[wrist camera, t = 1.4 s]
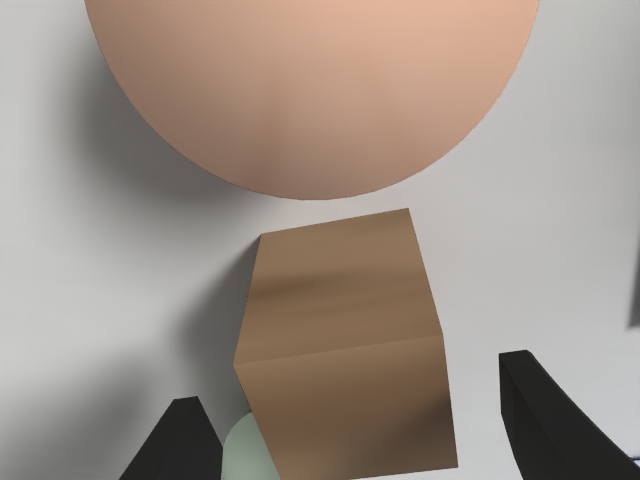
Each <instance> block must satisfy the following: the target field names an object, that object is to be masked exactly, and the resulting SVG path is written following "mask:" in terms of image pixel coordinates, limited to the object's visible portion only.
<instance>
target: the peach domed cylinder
mask: <svg viewBox="0 0 640 480" xmlns="http://www.w3.org/2000/svg"><path fill="white" fill-rule="evenodd" d="M84 1H85V5H86V9H87V13H88V17H89V20H90V23H91V25H92V28H93V31H94V34H95V37H96V39H97V42H98V45H99V47H100V49H101V52H102V54H103V56H104V58H105V60H106V62H107V64H108V66H109V68H110V70H111V72H112V74H113V76H114V77H115V79H116V80H117V82H118V84H119V85H120V87H121V88H122V90H123V92H124V93H125V95H126V96H127V98H128V99H129V101H130V102H131V103H132V105H133V106H134V107H135V108H136V110H137V111H138V112H139V113H140V115H141V116H142V117H143V118H144V120H145V121H146V122H147V123H148V124H149V125H150V126H151V127H152V128H153V129H154V130H155V131H156V132H157V133H158V134H159V135H160V136H161V137H162V138H163V139H164V140H165V141H166V142H167V143H168V144H169V145H171V146H172V147H173V148H174V149H176V150H177V151H178V152H179V153H181V154H182V155H183V156H184V157H186V158H187V159H188V160H190V161H192V162H193V163H195V164H196V165H198V166H199V167H201V168H202V169H204V170H206V171H207V172H209V173H211V174H213V175H215V176H217V177H219V178H221V179H223V180H225V181H227V182H229V183H231V184H234V185H237V186H240V187H243V188H245V189H248V190H251V191H254V192H258V193H262V194H266V195H270V196H275V197H280V198H289V199H298V200H331V199H339V198H347V197H353V196H357V195H361V194H366V193H370V192H374V191H377V190H380V189H382V188H385V187H388V186H390V185H393V184H396V183H398V182H400V181H402V180H404V179H406V178H408V177H410V176H412V175H414V174H416V173H418V172H420V171H422V170H423V169H425V168H426V167H428V166H429V165H431V164H432V163H434V162H435V161H437V160H438V159H440V158H441V157H443V156H444V155H445V154H446V153H448V152H449V151H450V150H451V149H452V148H453V147H455V146H456V145H457V144H458V143H459V142H461V141H462V140H463V139H464V138H465V137H466V136H467V135H468V134H469V133H470V132H471V131H472V130H473V128H474V127H475V126H476V125H477V124H478V123H479V122H480V121H481V120H482V119H483V118H484V116H485V115H486V114H487V112H488V111H489V110H490V108H491V107H492V106H493V104H494V103H495V102H496V100H497V99H498V98H499V96H500V95H501V93H502V91H503V90H504V88H505V86H506V84H507V83H508V81H509V79H510V78H511V76H512V74H513V73H514V71H515V69H516V67H517V64H518V62H519V60H520V58H521V55H522V53H523V51H524V49H525V47H526V44H527V42H528V39H529V36H530V33H531V30H532V27H533V23H534V20H535V17H536V14H537V11H538V6H539V1H540V0H84Z"/></svg>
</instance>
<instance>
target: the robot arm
mask: <svg viewBox="0 0 640 480" xmlns="http://www.w3.org/2000/svg"><path fill="white" fill-rule="evenodd" d="M499 373H500V399H501V415H502V418H503V421H504V425H505V428H506V432H507V435H508V439H509V442H510V445H511V448H512V452H513V455H514V458H515V460H516V463H517V465H518V468H519V470H520V473H521V475H522V478H523V480H640V460H636V461H633V460H632V459H631V458H630V457H628V456H627V455H626V454H625V453H624V452H623V451H622V450H621V449H620V448H619V447H618V446H617V445H616V444H614V443H613V442H612V441H611V440H610V439H609V438H608V437H607V436H606V435H605V434H604V433H603V432H602V431H601V430H600V429H599V428H598V427H597V426H596V425H595V424H594V423H593V422H592V421H591V420H590V419H589V418H588V417H587V416H586V415H585V414H584V413H583V412H582V410H581V409H580V408H579V407H578V406H577V405H576V404H575V403H574V402H573V401H572V400H571V399H570V398H569V397H568V396H567V394H566V393H565V392H564V391H563V390H562V389H561V388H560V387H559V386H558V384H557V383H556V382H555V381H554V380H553V379H552V378H551V376H550V375H549V374H548V373H547V372H546V370H545V369H544V368H543V367H542V366H541V364H540V363H539V362H538V361H537V359H536V358H535V357H534V356H533V354H532V353H531V352H529V351H528V350H520V351H513V352H506V353H499ZM222 459H223V447H222V445H221V443H220V441H219V439H218V437H217V435H216V433H215V431H214V429H213V427H212V425H211V423H210V421H209V419H208V417H207V415H206V413H205V411H204V409H203V407H202V405H201V403H200V401H199V398H198V396H195V397H188V398H181V399H174V400H173V401H172V403H171V404H170V406H169V407H168V409H167V410H166V411H165V413H164V414H163V416H162V417H161V419H160V420H159V422H158V423H157V425H156V426H155V428H154V429H153V431H152V432H151V434H150V435H149V437H148V438H147V440H146V441H145V443H144V444H143V446H142V447H141V448H140V450H139V451H138V453H137V454H136V456H135V457H134V459H133V460H132V461H131V463H130V464H129V466H128V467H127V469H126V470H125V471H124V473H123V474H122V476H121V477H120V479H119V480H221V472H222Z"/></svg>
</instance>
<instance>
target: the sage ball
mask: <svg viewBox="0 0 640 480" xmlns="http://www.w3.org/2000/svg"><path fill="white" fill-rule="evenodd" d="M222 474H223V478H224V480H280V477H279V475H278V472H277V470H276V468H275V465H274V463H273V460H272V458H271V456H270V453H269V451H268V449H267V446H266V444H265V441H264V439H263V437H262V434H261V432H260V429H259V427H258V425H257V422H256V420H255V418H254V415H253V413H252V412H250V413H248V414H247V415H245V416H244V417H242V418H241V419H240V420H239V421H238V422H237V423H236V424H235V425H234V426H233V428H232V429H231V430H230V432H229V434H228V436H227V438H226V440H225V442H224V446H223V459H222Z"/></svg>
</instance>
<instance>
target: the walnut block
mask: <svg viewBox="0 0 640 480" xmlns="http://www.w3.org/2000/svg"><path fill="white" fill-rule="evenodd" d="M233 368H234V370H235V372H236V375H237V377H238V379H239V382H240V384H241V387H242V389H243V391H244V394H245V396H246V398H247V401H248V403H249V406H250V408H251V410H252V413H253V415H254V418H255V420H256V422H257V425H258V427H259V429H260V432H261V434H262V437H263V439H264V441H265V444H266V446H267V449H268V451H269V453H270V456H271V458H272V460H273V463H274V465H275V468H276V470H277V472H278V475H279V477H280V480H351V479H360V478H369V477H378V476H387V475H396V474H405V473H414V472H423V471H432V470H440V469H449V468H458V461H457V452H456V443H455V435H454V426H453V417H452V409H451V400H450V391H449V382H448V374H447V365H446V356H445V348H444V339H443V333H442V329H441V326H440V322H439V318H438V315H437V311H436V307H435V304H434V300H433V296H432V293H431V289H430V285H429V282H428V278H427V274H426V271H425V267H424V263H423V260H422V256H421V252H420V249H419V245H418V242H417V238H416V234H415V231H414V227H413V223H412V220H411V216H410V212H409V209H408V208H405V209H399V210H394V211H388V212H382V213H377V214H371V215H365V216H360V217H354V218H348V219H343V220H337V221H331V222H326V223H320V224H314V225H309V226H303V227H297V228H292V229H286V230H280V231H275V232H269V233H263V234H261V238H260V242H259V247H258V251H257V256H256V260H255V265H254V270H253V274H252V279H251V283H250V288H249V292H248V297H247V301H246V306H245V310H244V315H243V320H242V324H241V329H240V333H239V338H238V342H237V347H236V351H235V356H234V361H233Z"/></svg>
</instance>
